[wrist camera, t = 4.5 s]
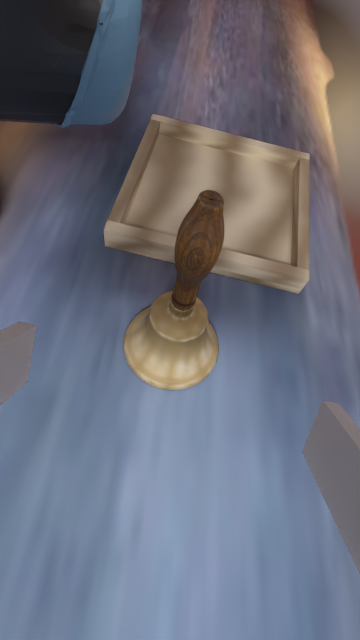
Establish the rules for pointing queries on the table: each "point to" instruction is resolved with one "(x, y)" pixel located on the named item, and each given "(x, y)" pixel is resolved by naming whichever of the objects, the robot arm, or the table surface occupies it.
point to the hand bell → (181, 307)
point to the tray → (237, 191)
